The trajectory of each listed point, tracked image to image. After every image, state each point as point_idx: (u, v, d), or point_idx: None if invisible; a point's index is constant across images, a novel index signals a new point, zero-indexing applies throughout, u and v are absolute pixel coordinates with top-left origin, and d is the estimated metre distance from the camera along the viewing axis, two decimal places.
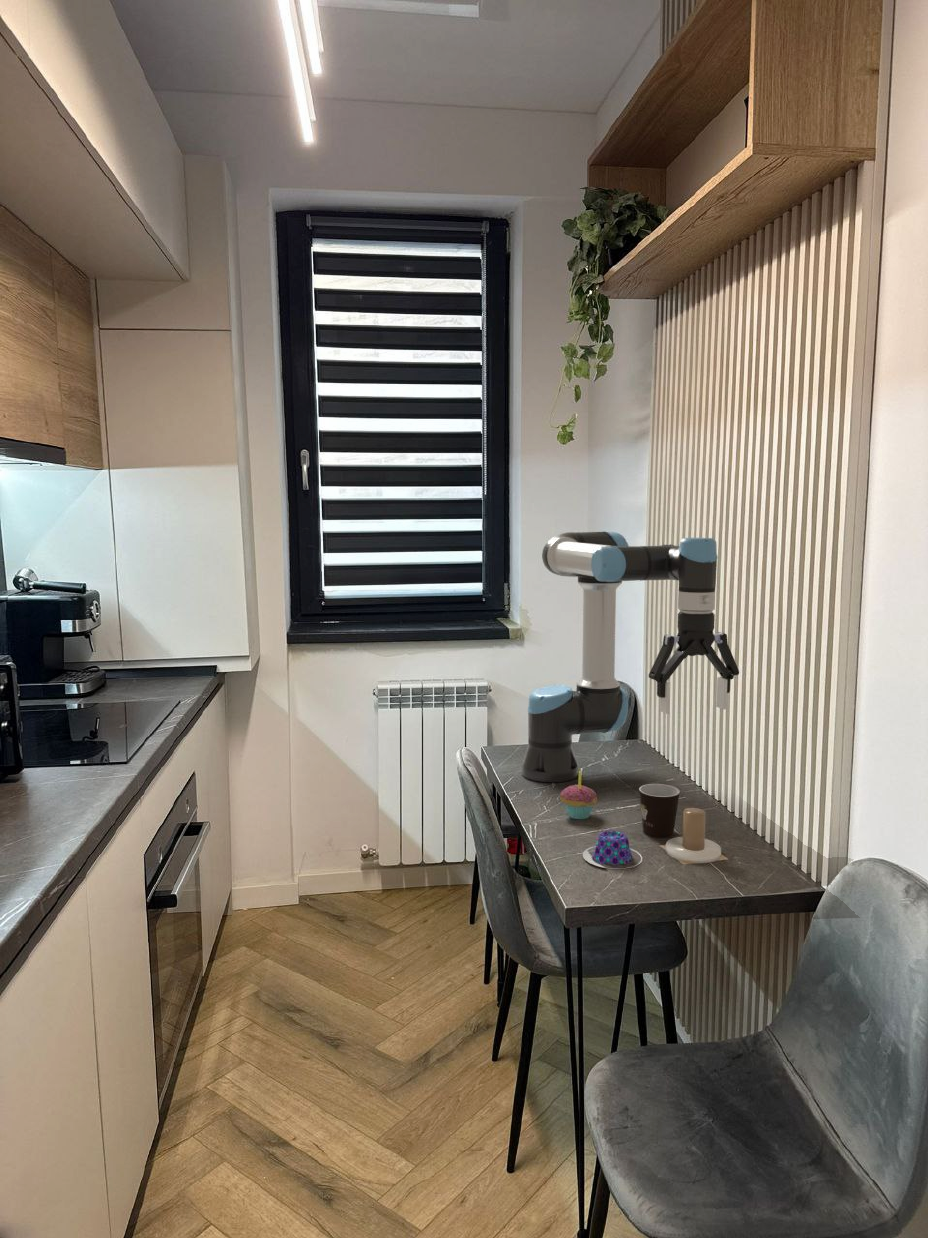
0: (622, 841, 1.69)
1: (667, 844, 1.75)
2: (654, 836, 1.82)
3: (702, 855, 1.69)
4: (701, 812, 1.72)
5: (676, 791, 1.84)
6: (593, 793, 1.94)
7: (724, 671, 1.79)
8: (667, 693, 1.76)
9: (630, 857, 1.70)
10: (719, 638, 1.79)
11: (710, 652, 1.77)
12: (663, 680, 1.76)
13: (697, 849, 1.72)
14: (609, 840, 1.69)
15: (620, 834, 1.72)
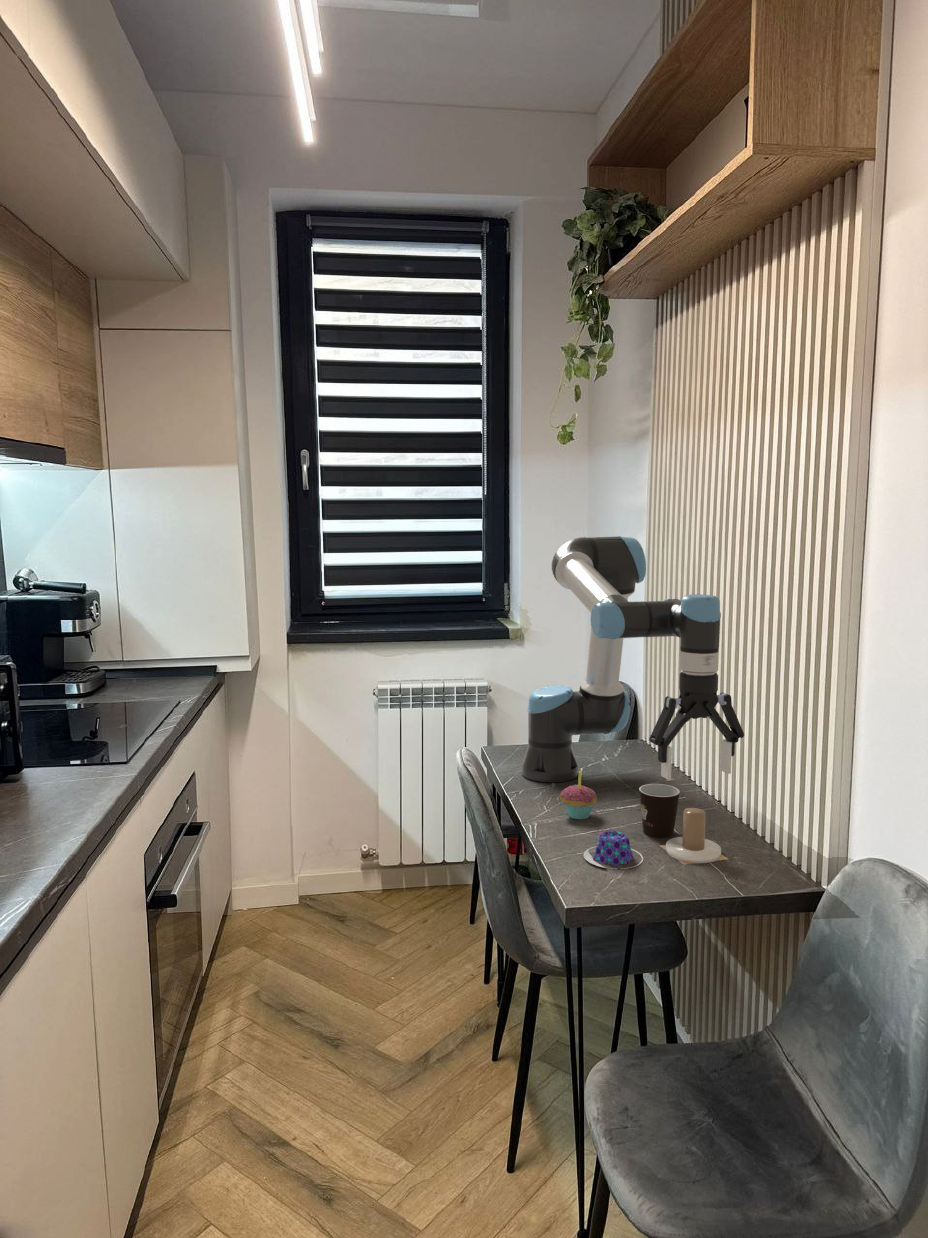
0: (623, 841, 1.69)
1: (667, 844, 1.75)
2: (654, 836, 1.82)
3: (702, 855, 1.69)
4: (701, 812, 1.72)
5: (676, 791, 1.84)
6: (593, 793, 1.94)
7: (728, 734, 1.71)
8: (668, 758, 1.68)
9: (631, 857, 1.70)
10: (723, 699, 1.71)
11: (714, 715, 1.69)
12: (664, 745, 1.67)
13: (697, 849, 1.72)
14: (610, 840, 1.69)
15: (621, 834, 1.72)
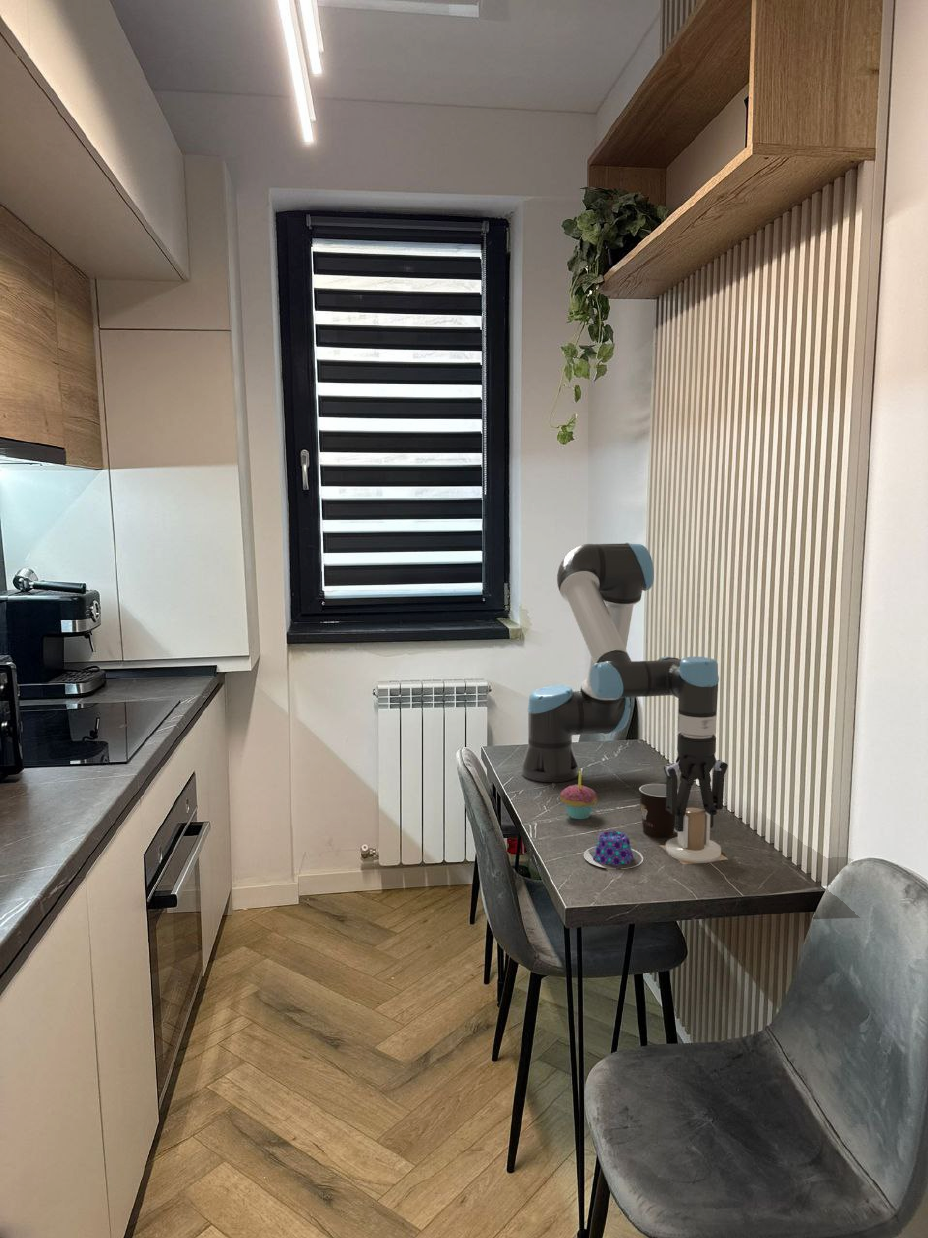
0: (623, 841, 1.69)
1: (667, 843, 1.75)
2: (654, 836, 1.82)
3: (702, 855, 1.69)
4: (701, 812, 1.72)
5: None
6: (593, 793, 1.94)
7: (710, 804, 1.72)
8: (685, 828, 1.71)
9: (631, 857, 1.70)
10: (719, 766, 1.72)
11: (706, 778, 1.71)
12: (681, 815, 1.71)
13: (697, 849, 1.72)
14: (610, 840, 1.69)
15: (621, 834, 1.72)
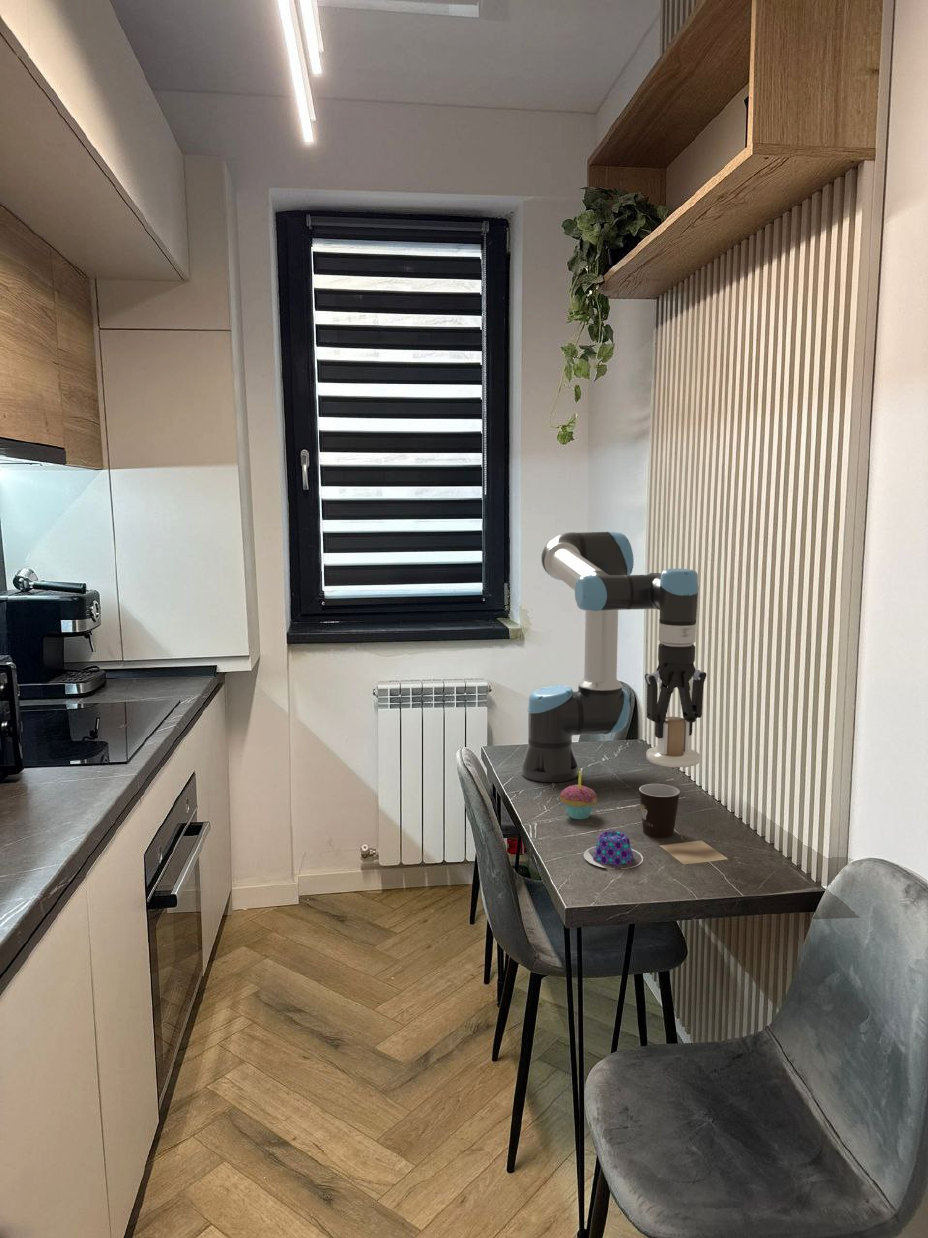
0: (624, 841, 1.69)
1: (647, 751, 1.81)
2: (654, 836, 1.82)
3: (681, 760, 1.75)
4: (680, 719, 1.78)
5: (676, 791, 1.84)
6: (593, 793, 1.94)
7: (689, 712, 1.78)
8: (664, 734, 1.77)
9: (631, 856, 1.70)
10: (698, 675, 1.78)
11: (685, 686, 1.76)
12: (661, 722, 1.76)
13: (676, 755, 1.77)
14: (611, 840, 1.69)
15: (620, 834, 1.72)
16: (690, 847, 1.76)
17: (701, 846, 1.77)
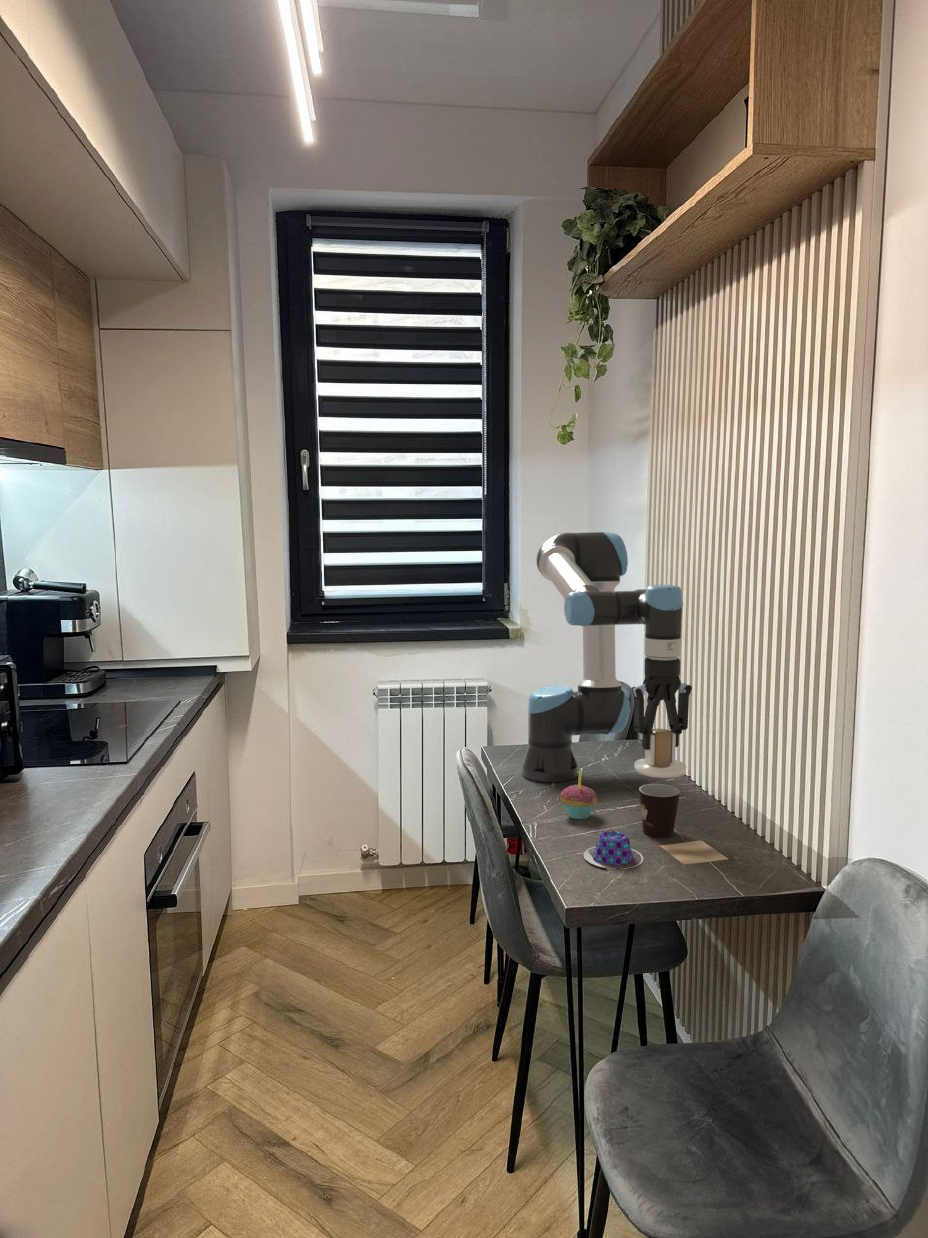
0: (624, 841, 1.69)
1: (635, 763, 1.85)
2: (654, 836, 1.82)
3: (667, 771, 1.79)
4: (667, 731, 1.83)
5: (676, 791, 1.84)
6: (593, 793, 1.94)
7: (675, 724, 1.82)
8: (651, 746, 1.81)
9: (631, 856, 1.71)
10: (684, 688, 1.83)
11: (671, 699, 1.81)
12: (648, 733, 1.81)
13: (663, 766, 1.82)
14: (611, 840, 1.69)
15: (620, 834, 1.72)
16: (690, 847, 1.76)
17: (701, 846, 1.77)
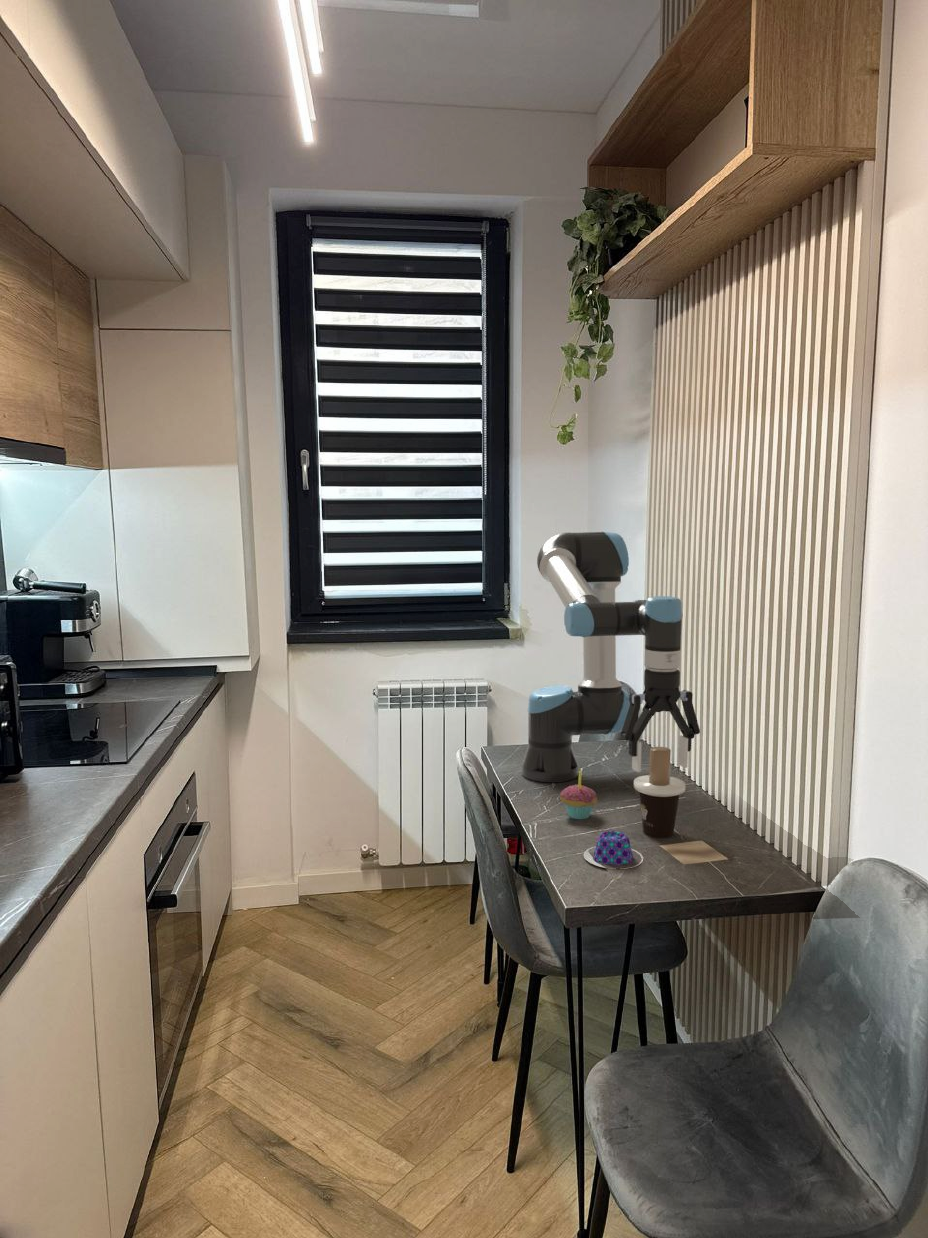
0: (625, 841, 1.69)
1: (635, 780, 1.86)
2: (654, 836, 1.82)
3: (667, 789, 1.80)
4: (666, 750, 1.83)
5: None
6: (593, 793, 1.94)
7: (686, 730, 1.83)
8: (638, 752, 1.81)
9: (631, 856, 1.71)
10: (685, 696, 1.83)
11: (674, 709, 1.82)
12: (634, 740, 1.80)
13: (662, 784, 1.82)
14: (612, 840, 1.69)
15: (620, 834, 1.73)
16: (690, 847, 1.76)
17: (701, 846, 1.77)
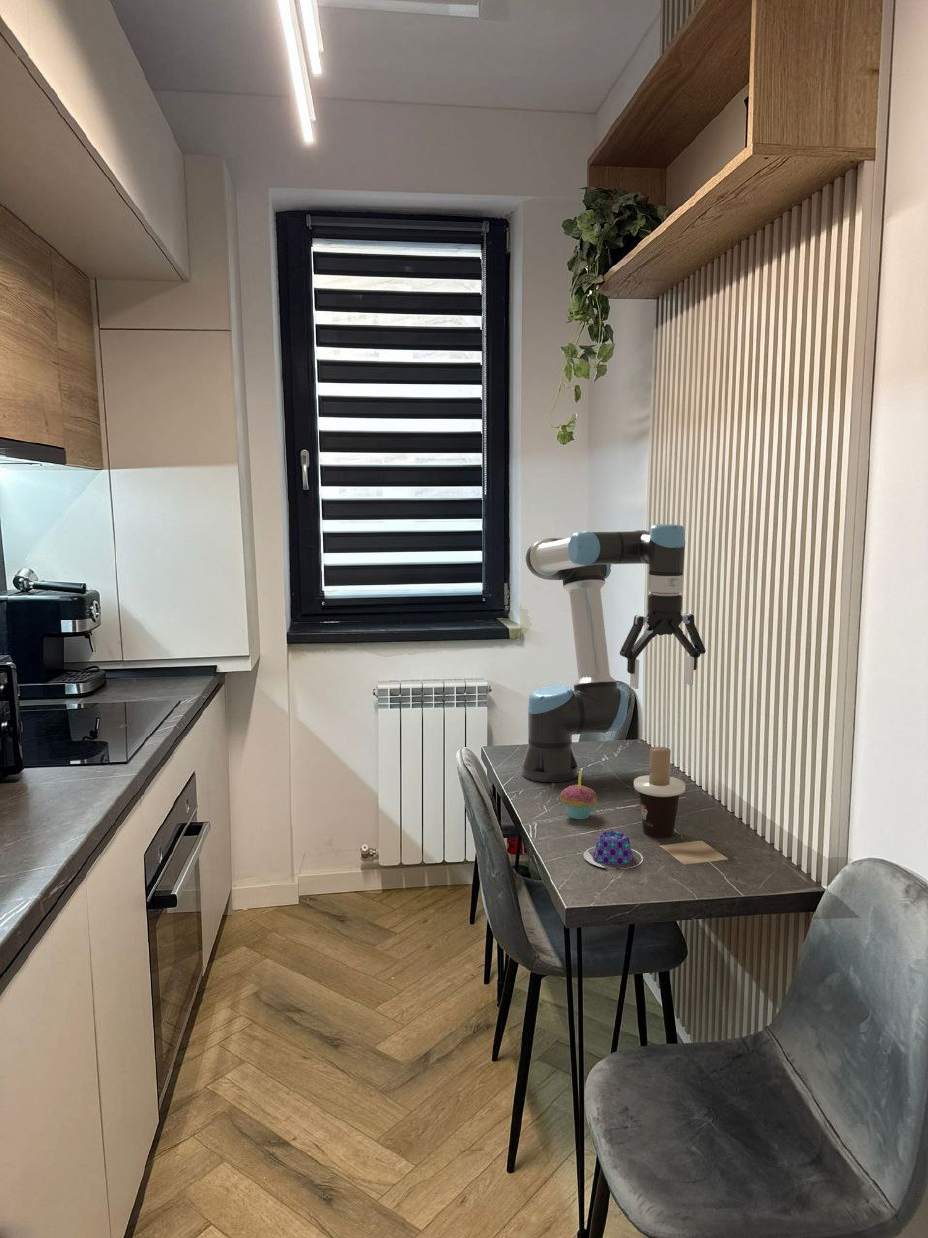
0: (625, 841, 1.69)
1: (635, 780, 1.86)
2: (654, 836, 1.82)
3: (667, 789, 1.80)
4: (666, 750, 1.83)
5: None
6: (593, 793, 1.94)
7: (691, 650, 1.92)
8: (636, 670, 1.89)
9: (631, 856, 1.71)
10: (687, 619, 1.91)
11: (678, 632, 1.90)
12: (633, 657, 1.88)
13: (662, 784, 1.82)
14: (613, 840, 1.69)
15: (619, 833, 1.73)
16: (690, 847, 1.76)
17: (701, 846, 1.77)
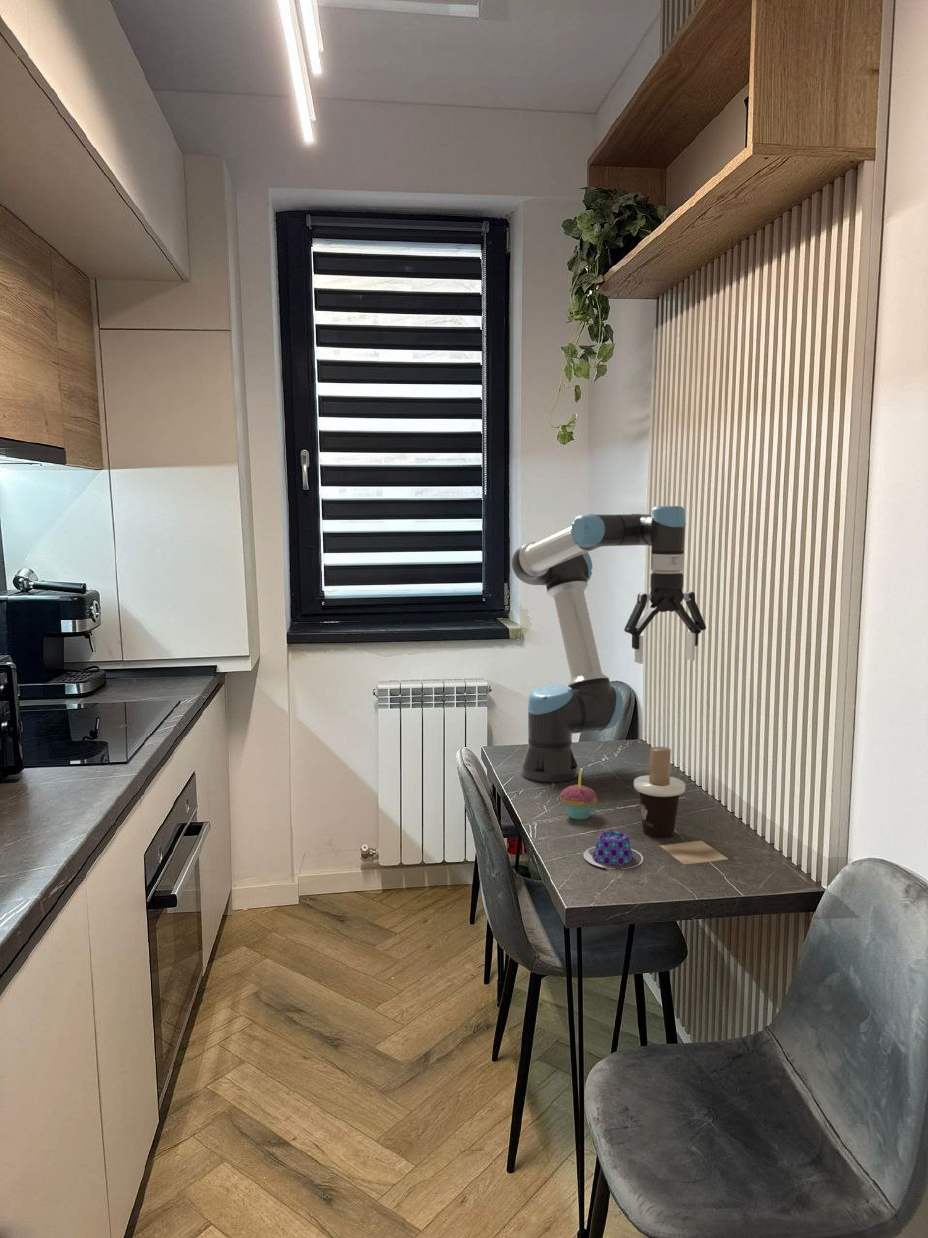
0: (625, 840, 1.69)
1: (635, 780, 1.86)
2: (654, 836, 1.82)
3: (667, 789, 1.80)
4: (666, 750, 1.83)
5: None
6: (593, 793, 1.94)
7: (692, 626, 2.00)
8: (640, 645, 1.97)
9: (631, 855, 1.71)
10: (688, 596, 2.00)
11: (679, 608, 1.98)
12: (637, 633, 1.96)
13: (662, 784, 1.82)
14: (613, 841, 1.69)
15: (619, 833, 1.73)
16: (690, 847, 1.76)
17: (701, 846, 1.77)
